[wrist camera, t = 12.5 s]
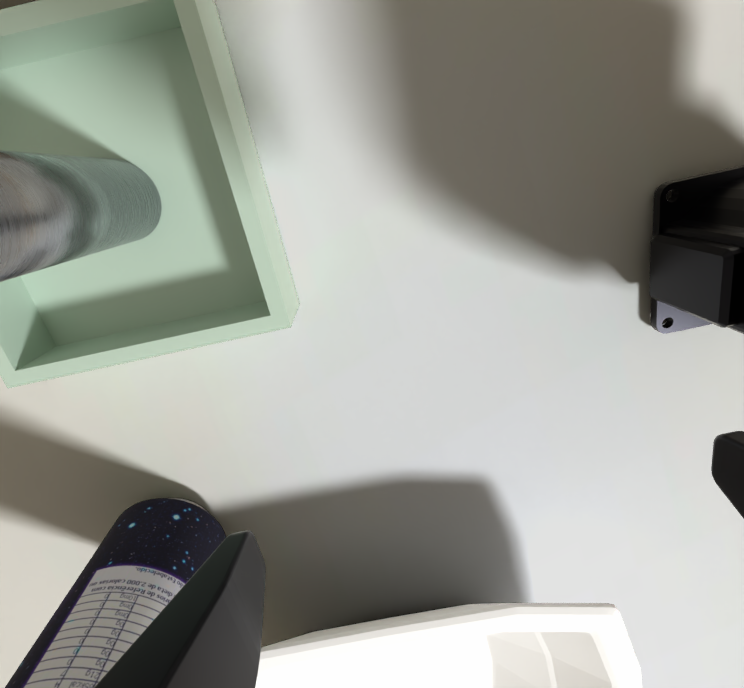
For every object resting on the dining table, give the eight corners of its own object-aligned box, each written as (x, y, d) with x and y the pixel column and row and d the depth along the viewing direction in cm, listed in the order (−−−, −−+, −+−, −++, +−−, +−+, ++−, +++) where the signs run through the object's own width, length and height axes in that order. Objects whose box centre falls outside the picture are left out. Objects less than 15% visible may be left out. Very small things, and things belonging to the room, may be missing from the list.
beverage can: (100, 501, 23) (-143, 824, 11) (206, 473, 22) (62, 777, 11) (150, 580, 25) (-15, 919, 13) (247, 555, 24) (161, 882, 13)
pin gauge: (143, 150, 16) (-131, 115, 7) (173, 232, 17) (-31, 297, 8) (65, 168, 16) (-308, 159, 7) (99, 249, 18) (-187, 332, 8)
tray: (215, 3, 15) (184, -35, 12) (299, 304, 19) (291, 327, 16) (-87, 76, 16) (-185, 54, 13) (57, 356, 20) (7, 388, 17)
